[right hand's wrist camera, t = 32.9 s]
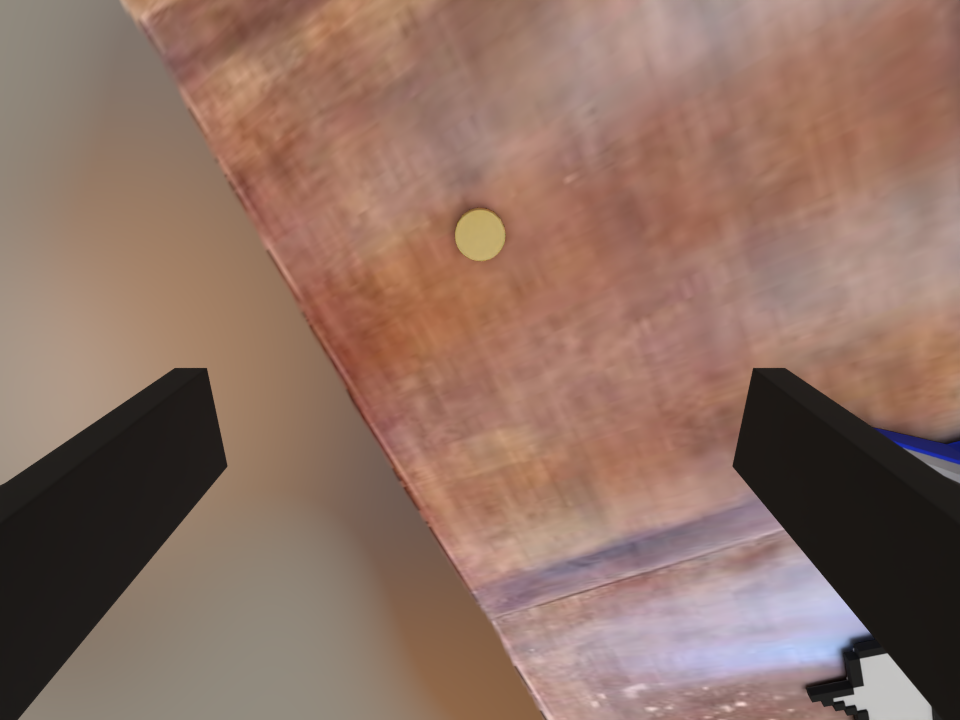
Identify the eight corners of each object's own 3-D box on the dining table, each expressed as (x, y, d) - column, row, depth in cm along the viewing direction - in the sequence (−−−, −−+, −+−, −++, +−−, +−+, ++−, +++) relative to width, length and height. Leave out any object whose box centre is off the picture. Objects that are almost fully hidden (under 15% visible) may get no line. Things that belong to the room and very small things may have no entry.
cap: (505, 207, 44) (506, 208, 42) (504, 257, 45) (505, 261, 44) (455, 207, 44) (453, 209, 42) (456, 258, 45) (455, 261, 44)
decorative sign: (820, 758, 71) (937, 739, 68) (827, 772, 69) (948, 753, 67) (796, 649, 63) (927, 622, 61) (803, 662, 62) (939, 635, 59)
